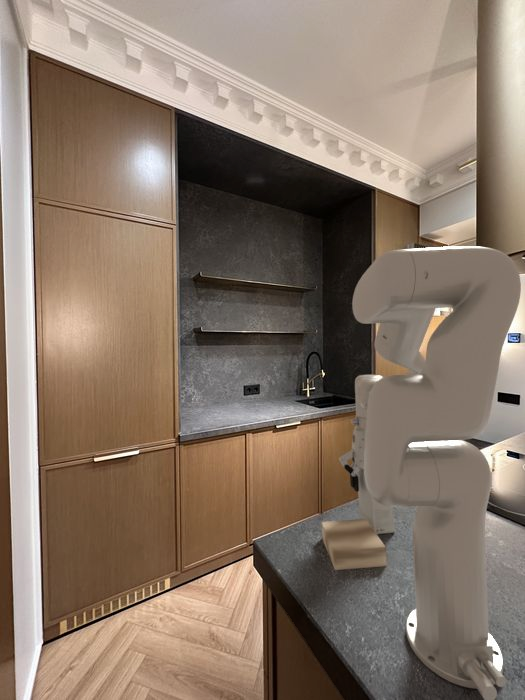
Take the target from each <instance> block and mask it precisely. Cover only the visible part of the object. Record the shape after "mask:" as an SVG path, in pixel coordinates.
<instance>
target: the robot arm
mask: <svg viewBox="0 0 525 700" xmlns="http://www.w3.org/2000/svg"><path fill="white" fill-rule="evenodd" d="M521 287H522V285H521V277H520V271H519V269H518V268H517V265H516V263H515V261H513V259H512V258H511V257H510V256H509V255H508V254H507V253H505V252H503V251H501V250H500V249H495V248H491V247H485V246H469V245H468V246H463V245H462V246H443V247H442V246H441V247H439V246H438V247H425V248H424V247H423V248H422V247H421V248H403V249H394V250H389V251H385V252H384V253H382V254H380V255H378V257H377V258H376V259H374V261H373V262H372V263H371V265H369V267H368V268H367V269H366V271H365V272H364V273H363V274H362V276H361V277H360V278H359V280H358V282H357V284H356V285H355V288H354V292H353V295H352V302H351V303H352V306H351V307H352V313H353V316H354V318H355V320H356V321H357V322H359V323H360V324H365V325H366V324H379V325H378V329H377V332H376V335H375V336H376V337H375V339H374V350H375V351H376V352H377V354H378V355H379V356H380V357H381V358H383V359H384V360H386V361H388V362H390V363H392V364H395V365H397V366H399V367H402V368H404V369H408V371H407V374H395V375H393V374H392V375H389V376H382V375H380V374H359V375H358V376H357V377H356V378H355V380H354V393H355V395H354V397H355V418H353V419H352V418H351V419H350V424H351V425H355V426H354V427H353V432H352V437H351V438H352V439H351V449H350V450H349V451H348V452H346V453H345V454H343V455H340V456H339V457H338V459H339V461H340V463H341V465H342V467H343V468H344V469H345V470H346V472H348V474H349V478H350V481H349V482H350V486H351V488H353V490H354V491H355V492H356V493H358V491H359V479H358V476H357V473H358V472H359V470H360V469H361V470H364V476H365V482H366V486H367V489H368V491H369V493H370V495H371V496H372V498H373V499H374V500H375V501H377V502H378V503H380V504H382V505H385V506H391V507H393V508H395V507H396V508H399V507H400V508H403V507H418V508H417V510H416V512H415V515H414V518H413V524H412V544H413V549H412V550H413V566H414V567H413V568H414V569H413V570H414V571H413V573H414V591H415V592H414V593H415V609H413V610H411V612H410V613H409V614H408V615H407V618H406V622H405V629H406V632H405V633H406V637H407V640H408V643H409V645H410V647H411V649H412V651H413V652H414V654H415V655H416V657H417V658H418V659H419V660H420V661H421V662H422V664H423V665H425V666H426V667H427V668H428V669H429V670H431V672H433V673H434V674H436V675H437V676H438V677H441V678H442V679H444V680H446V681H447V682H449V683H453V684H454V685H457V686H461V687H464V688H468V689H477V691H478V692H479V694H480V696H482V699H483V700H496V698H497V696H498V691H497V689H496V687H495V685H496V686H497V687H498V688H503V687H505V686H506V685H507V679H506V678H505V676H504V674H503V673H504V657H503V654H502V652H501V649H500V647H499V645H498V643H497V642H496V640H495V639H494V638H493V636H492V635H491V634H490V633H489V632H490V631H489V629H490V628H489V607H488V606H489V605H488V586H487V585H488V583H487V581H488V580H487V558H486V555H487V554H486V552H487V551H486V517H487V508H488V504H489V500H490V494H491V487H492V472H491V468H490V464H489V461H488V460H487V458H486V456H485V454H484V453H483V452H482V450H480V449H479V448H478V447H477V446H475V445H474V444H472V443H470V442H468V441H466V440H471V439H475V438H477V437H479V436H481V435H482V434H483V433H484V431H485V430H486V429H487V426H488V422H489V419H490V415H491V411H492V407H493V406H492V405H493V400H494V394H495V389H496V385H497V379H498V372H499V368H500V361H501V356H502V351H503V346H504V345H505V341H506V338H507V336H508V333H509V331H510V328H511V326H512V324H513V321H514V318H515V315H516V314H517V311H518V307H519V304H520V298H521V293H522V292H521V291H522V289H521ZM441 308H442V309H443V308H450V309H452V311H451V312H450V313H449V314H448V315H447V316H446V317H445V318H444V319H443V320H442V321H441V322H440V323H439V324H438V326H437V327H436V328H435V330H434V331H433V332H432V334H431V336H430V337H429V339H428V342H427V345H426V353H425V357H424V356H423V354H422V353H421V352H420V350H421V347H422V344H423V342H424V339H425V337H426V334H427V331H428V329H429V327H430V324H431V321H432V319H433V317H434V313H436V312H435V311H436V309H441ZM350 459H351V461H352V464H351V465H349V464H348V460H350Z"/></svg>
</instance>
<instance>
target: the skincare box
mask: <svg viewBox="0 0 525 700" xmlns="http://www.w3.org/2000/svg"><path fill="white" fill-rule="evenodd" d="M357 476H358V479H359V491H358V492H357V494H358V495H357V497H358V510H359V519H366V520H367V521H368V523H369V524H370V526H371V527H372V528H373V530H374V531H375V533H376V534H377V535H382V534H392V533H395V531H396V527H395V526H396V525H395V516H394V507H391V506H385V505H382V504H380V503H378V502H377V501H375V500H374V499H373V498H372V496H371V495H370V493H369V491H368V489H367V486H366V482H365V476H364V470H361V469H360V470H359V472H358V473H357Z"/></svg>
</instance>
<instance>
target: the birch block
mask: <svg viewBox="0 0 525 700" xmlns="http://www.w3.org/2000/svg"><path fill="white" fill-rule="evenodd" d="M321 539H322V541H323V544H324V547H325V548H326V552H327V554H328V557H329V558H330V561H331V564H332V567H333V569H334V571H339V570H351V569H352V570H353V569H366V568H368V569H369V568H377V567H379V568H380V567H386V566H387V548H386V546H385V544H384V543H383V541H382V540H381V538H380V537H379V535H378V534H376V533H375V531H374V530H373V528H372V527H371V526H370V524H369V523H368V521H367V520H366V519H360V518H359V519H347V520H345V519H344V520H329V521H321Z"/></svg>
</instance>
